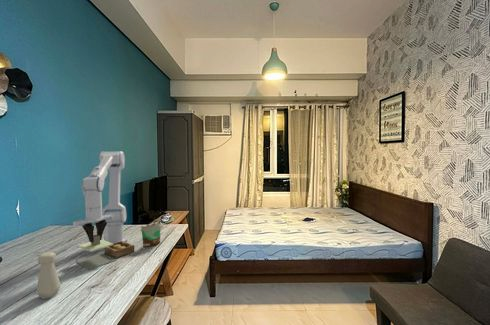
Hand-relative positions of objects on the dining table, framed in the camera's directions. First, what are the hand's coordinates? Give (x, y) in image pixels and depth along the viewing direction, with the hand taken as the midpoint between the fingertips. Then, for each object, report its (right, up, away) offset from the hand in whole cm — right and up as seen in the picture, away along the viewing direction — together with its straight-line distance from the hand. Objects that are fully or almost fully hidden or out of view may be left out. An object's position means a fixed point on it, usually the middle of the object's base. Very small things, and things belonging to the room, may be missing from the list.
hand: (95, 240), depth 103 cm
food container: (+17, -7, +19) cm, 27 cm away
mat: (0, -8, 0) cm, 8 cm away
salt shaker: (0, -10, -24) cm, 26 cm away
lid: (0, -2, 0) cm, 2 cm away
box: (+5, -8, +9) cm, 13 cm away
